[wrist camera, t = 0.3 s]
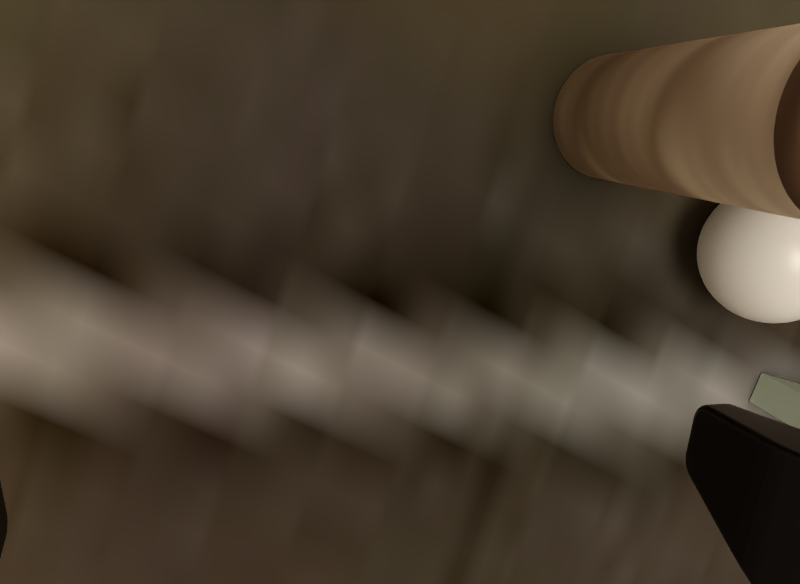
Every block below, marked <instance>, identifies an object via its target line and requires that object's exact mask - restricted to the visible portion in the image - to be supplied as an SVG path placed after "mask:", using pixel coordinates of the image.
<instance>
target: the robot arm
mask: <svg viewBox="0 0 800 584" xmlns="http://www.w3.org/2000/svg"><path fill="white" fill-rule="evenodd" d="M686 467H687V470H688V473H689V475H690V477H691V479H692V481H693V483H694V485H695V486H696V488H697V490H698V492H699V494H700V495H701V497H702V499H703V501H704V503H705V505H706V506H707V508H708V510H709V512H710V514H711V515H712V517H713V519H714V521H715V523H716V524H717V526H718V528H719V530H720V532H721V534H722V535H723V537H724V539H725V541H726V543H727V544H728V546H729V548H730V550H731V552H732V553H733V555H734V557H735V559H736V560H737V562H738V564H739V565H740V567H741V569H742V570H743V572H744V573H745V575H746V576H747V578H748V579H749V581H750V583H751V584H800V429H799V428H796V427H794V426H791V425H788V424H785V423H782V422H779V421H777V420H774V419H771V418H768V417H765V416H762V415H760V414H757V413H754V412H751V411H748V410H745V409H743V408H740V407H737V406H734V405H731V404H714V405H704V406H701V407H700V408H699V409H698V410H697V411H696V413H695V415H694V419H693V424H692V429H691V433H690V438H689V443H688V447H687V452H686ZM7 523H8V522H7V512H6V507H5V502H4V497H3V492H2V487H1V482H0V557H1V553H2V550H3V546H4V542H5V539H6V534H7Z"/></svg>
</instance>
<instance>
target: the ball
mask: <svg viewBox="0 0 800 584" xmlns="http://www.w3.org/2000/svg"><path fill="white" fill-rule="evenodd" d="M697 264H698V269H699V273H700V275H701V278H702V280H703V283H704V285H705V286H706V288H707V290H708V291H709V292H710V294H711V295H712V296H713V297H714V298H715V299H716V300H717V301H718V302H719V303H720V304H721V305H722V306H724V307H725V308H726V309H728V310H729V311H731V312H733V313H735V314H736V315H739V316H741V317H743V318H746V319H749V320H753V321H757V322H764V323H787V322H792V321H797V320H800V219H796V218H791V217H786V216H781V215H776V214H771V213H766V212H761V211H756V210H751V209H746V208H741V207H736V206H731V205H726V204H721V203H720V204H719V205H718V206H717V207H716V208H715V209H714V211H713V212H712V213H711V214H710V216H709V217H708V219H707V220H706V222H705V224H704V226H703V228H702V230H701V233H700V236H699V240H698V245H697Z"/></svg>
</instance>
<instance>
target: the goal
mask: <svg viewBox="0 0 800 584" xmlns="http://www.w3.org/2000/svg"><path fill="white" fill-rule="evenodd" d="M749 402H751V403H753V404H754V405H756V406H758V407H759V408H761V409H763V410H764V411H766V412H768V413H769V414H771V415H773V416H775V417H776V418H778V419H780V420H781V421H783V422H785V423H786V424H788V425H791V426H794V427H796V428H799V429H800V384H799V383H795V382H792V381H788V380H785V379H781V378H778V377H774V376H771V375H767V374H764V373H761V375H760V378H759V380H758V382H757V385H756V387H755V389H754V392H753V394H752V396H751V398H750V401H749Z"/></svg>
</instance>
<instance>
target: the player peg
mask: <svg viewBox="0 0 800 584" xmlns="http://www.w3.org/2000/svg"><path fill="white" fill-rule="evenodd" d="M553 132H554V137H555V141H556V144H557V146H558V149H559V151H560V153H561V154H562V156H563V157H564V159H565V160H566V161H567V162H568V163H569V164H570V165H571V166H572V167H573V168H574V169H575V170H577V171H578V172H580V173H582V174H584V175H586V176H589V177H593V178H597V179H602V180H607V181H612V182H617V183H622V184H627V185H632V186H637V187H642V188H647V189H652V190H657V191H662V192H666V193H671V194H676V195H681V196H686V197H691V198H696V199H701V200H706V201H711V202H716V203H721V204H726V205H731V206H736V207H741V208H746V209H751V210H756V211H761V212H766V213H771V214H776V215H781V216H786V217H791V218H796V219H800V24H794V25H788V26H781V27H775V28H769V29H763V30H756V31H750V32H744V33H737V34H731V35H725V36H719V37H712V38H706V39H700V40H694V41H687V42H681V43H675V44H669V45H662V46H656V47H650V48H644V49H637V50H631V51H625V52H618V53H612V54H606V55H601V56H598V57H595V58H592V59H590V60H588V61H586V62H585V63H583V64H582V65H580V66H579V67H578V68H576V69H575V70H574V71H573V72H572V73H571V74H570V76H569V77H568V78H567V79H566V81H565V82H564V84H563V86H562V87H561V89H560V91H559V94H558V96H557V99H556V102H555V105H554V111H553Z"/></svg>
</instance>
